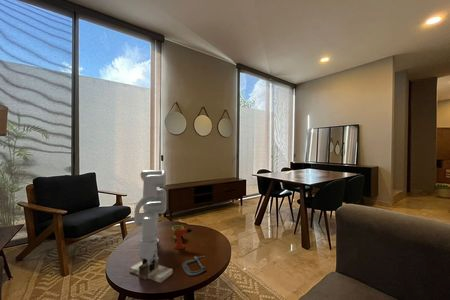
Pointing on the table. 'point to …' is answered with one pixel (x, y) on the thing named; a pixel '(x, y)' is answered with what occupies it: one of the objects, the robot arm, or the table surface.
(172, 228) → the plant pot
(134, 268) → the board
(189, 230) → the toy drill
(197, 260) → the c clamp
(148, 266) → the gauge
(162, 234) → the table surface
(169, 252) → the table surface
